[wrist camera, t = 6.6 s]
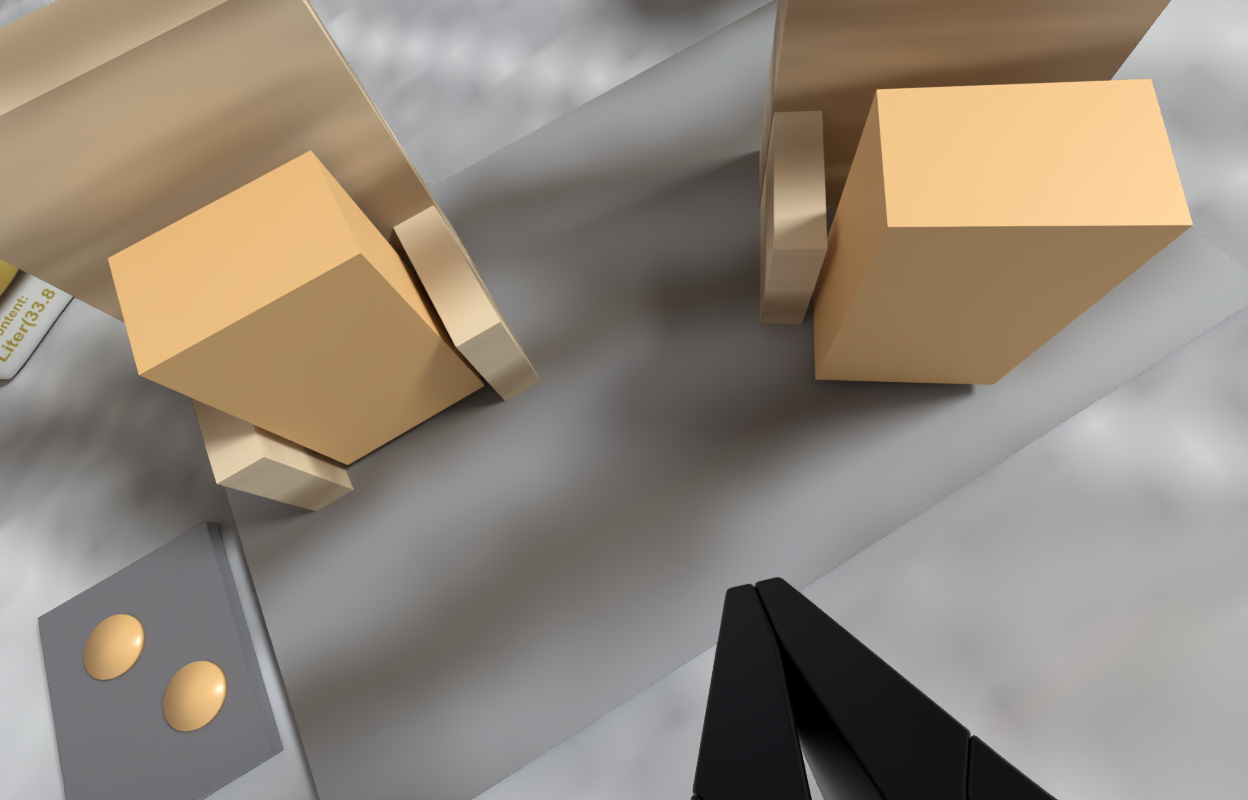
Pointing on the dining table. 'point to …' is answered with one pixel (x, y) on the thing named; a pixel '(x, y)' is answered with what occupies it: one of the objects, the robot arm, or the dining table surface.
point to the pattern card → (158, 679)
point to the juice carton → (24, 315)
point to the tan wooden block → (989, 225)
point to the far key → (291, 316)
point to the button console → (565, 346)
